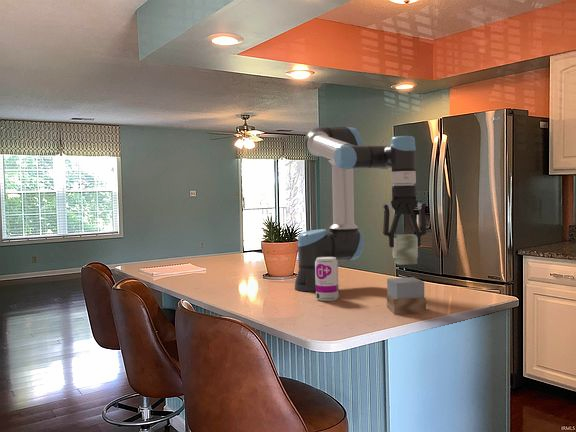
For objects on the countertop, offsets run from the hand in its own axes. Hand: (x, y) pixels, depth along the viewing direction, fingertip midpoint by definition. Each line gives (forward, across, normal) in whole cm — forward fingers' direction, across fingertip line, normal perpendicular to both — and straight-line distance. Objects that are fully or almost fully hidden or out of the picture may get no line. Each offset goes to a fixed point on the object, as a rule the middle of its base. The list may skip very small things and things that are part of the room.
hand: (405, 257), depth 167 cm
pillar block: (+2, 0, 0) cm, 2 cm away
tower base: (+17, 0, 0) cm, 17 cm away
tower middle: (+12, 0, 0) cm, 12 cm away
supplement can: (+17, -23, +21) cm, 36 cm away
